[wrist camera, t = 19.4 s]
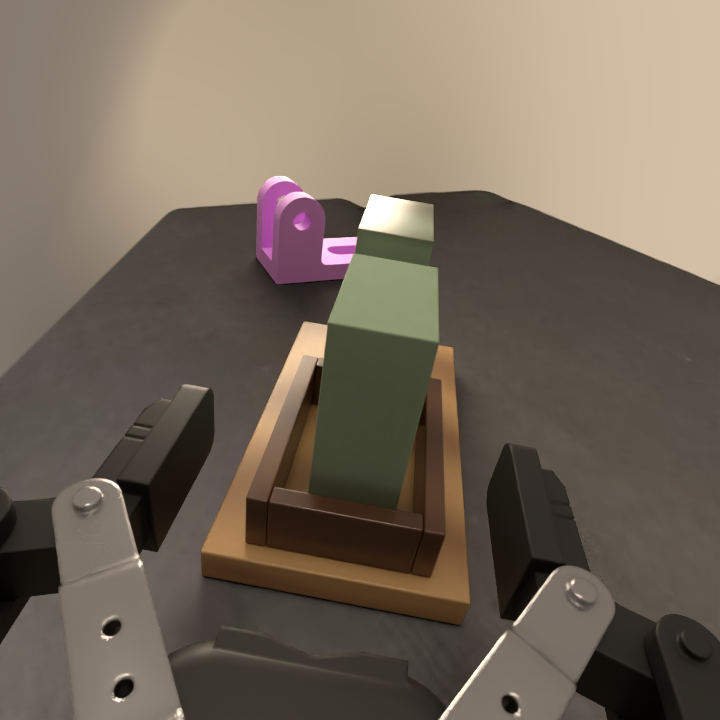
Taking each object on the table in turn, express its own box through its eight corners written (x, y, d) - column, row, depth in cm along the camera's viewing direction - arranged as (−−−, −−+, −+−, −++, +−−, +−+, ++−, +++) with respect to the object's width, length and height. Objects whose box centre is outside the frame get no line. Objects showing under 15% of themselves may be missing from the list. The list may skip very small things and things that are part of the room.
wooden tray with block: (460, 626, 19) (557, 410, 13) (201, 576, 19) (187, 343, 14) (448, 366, 34) (490, 211, 29) (302, 339, 34) (315, 181, 29)
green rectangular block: (390, 531, 20) (439, 342, 16) (305, 515, 21) (327, 321, 16) (399, 434, 26) (438, 267, 21) (330, 421, 26) (353, 252, 21)
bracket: (276, 284, 41) (280, 197, 37) (256, 256, 45) (257, 175, 41) (412, 272, 47) (428, 196, 43) (384, 249, 51) (396, 177, 47)
